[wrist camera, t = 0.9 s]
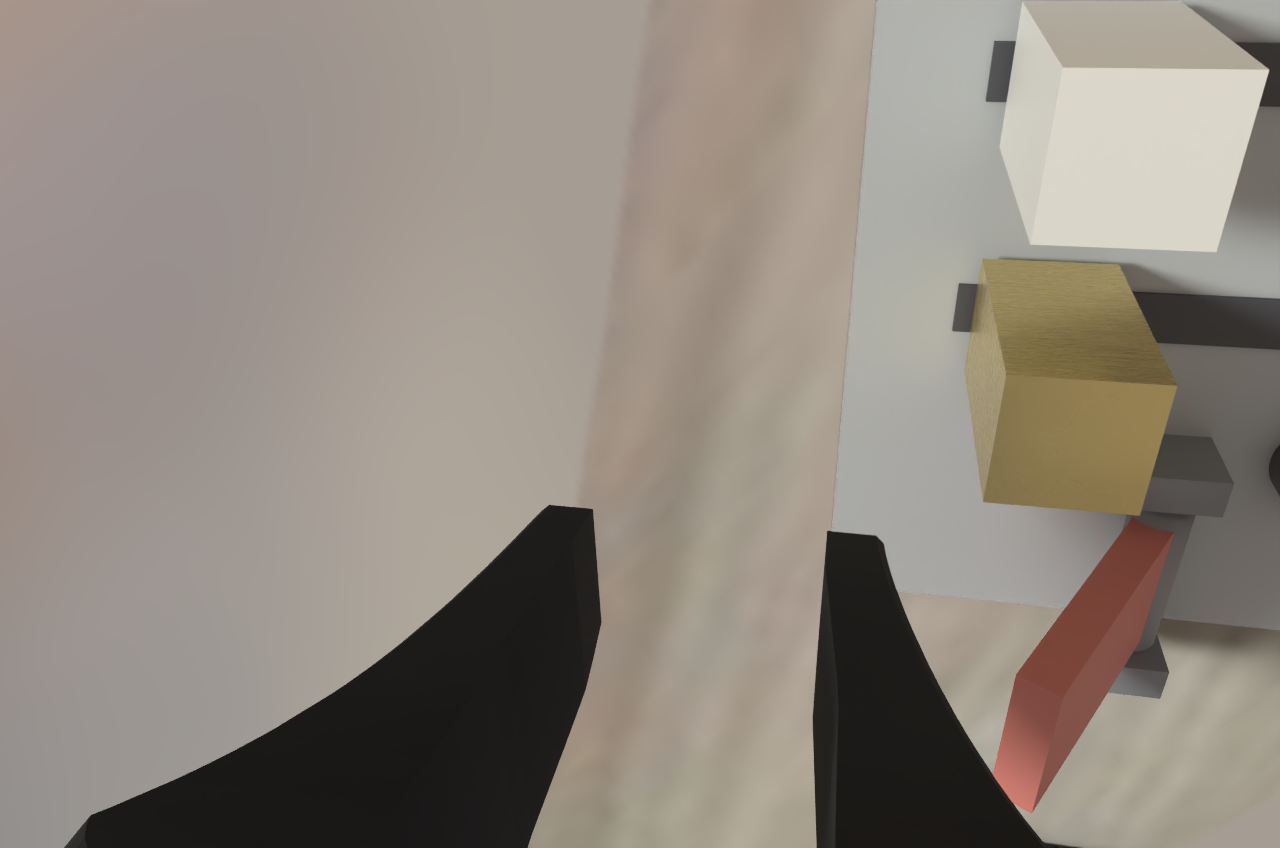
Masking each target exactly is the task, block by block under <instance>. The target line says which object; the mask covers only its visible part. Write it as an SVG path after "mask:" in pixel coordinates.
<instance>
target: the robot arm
mask: <svg viewBox="0 0 1280 848" xmlns="http://www.w3.org/2000/svg"><path fill="white" fill-rule="evenodd" d="M600 626H601V612H600V598H599V585H598V572H597V559H596V546H595V532H594V519H593V509H587V508H576V507H565V506H554V505H549V506H547V507H546V508H545V509H544V510H542V511H541V512H540V513H539V514H538V515H537V516H536V517H535V518H534V519H533V520H532V522H530V523H529V524H528V525H527V527H526V528H525V529H524V530H523V531H522V532H521V533H520V534H519V535H518V536H517V537H516V538H515V539H514V540H513V541H512V542H511V543H510V544H509V545H508V546H507V547H506V548H505V549H504V550H503V551H502V552H501V553H500V554H499V555H498V556H497V557H496V558H495V559H494V560H493V561H492V562H491V563H490V564H489V565H488V566H487V567H486V568H485V569H484V570H483V571H482V572H481V573H480V574H479V575H477V577H475V578H474V579H473V580H472V581H471V582H470V583H469V584H468V585H467V586H466V587H465V588H464V589H463V590H462V591H461V592H460V593H458V594H457V595H456V596H455V597H454V598H453V599H452V600H451V601H450V602H449V603H448V604H446V605H445V606H444V607H443V608H442V609H441V610H440V611H439V612H438V613H436V614H435V615H434V616H433V617H431V618H430V619H429V620H428V621H427V622H426V623H424V624H423V625H422V626H421V627H420V628H419V629H417V630H416V631H415V632H414V633H413V634H411V635H410V636H409V637H408V638H407V639H406V640H404V641H403V642H402V643H401V644H400V645H398V646H397V647H396V648H394V649H393V650H392V651H391V652H389V653H388V654H387V655H385V656H384V657H383V658H382V659H380V660H379V661H378V662H376V663H375V664H374V665H372V666H371V667H370V668H368V669H367V670H366V671H364V672H363V673H361V674H360V675H359V676H357V677H356V678H354V679H353V680H351V681H350V682H349V683H347V684H346V685H344V686H343V687H341V688H340V689H338V690H337V691H335V692H334V693H332V694H331V695H329V696H327V697H326V698H324V699H322V700H321V701H320V702H318V703H316V704H314V705H313V706H311V707H309V708H308V709H306V710H304V711H303V712H301V713H300V714H298V715H296V716H295V717H293V718H291V719H290V720H288V721H286V722H285V723H283V724H282V725H280V726H279V727H277V728H275V729H273V730H272V731H270V732H268V733H266V734H264V735H263V736H261V737H259V738H257V739H255V740H253V741H252V742H250V743H248V744H246V745H244V746H243V747H240V748H239V749H237V750H235V751H233V752H231V753H229V754H227V755H225V756H223V757H221V758H219V759H217V760H215V761H213V762H211V763H209V764H207V765H205V766H203V767H201V768H199V769H197V770H195V771H193V772H190V773H188V774H186V775H185V776H182V777H180V778H178V779H175V780H173V781H171V782H169V783H166V784H164V785H162V786H159V787H157V788H155V789H152V790H150V791H148V792H145V793H143V794H141V795H138V796H136V797H134V798H131V799H129V800H127V801H124V802H122V803H120V804H117V805H115V806H113V807H110V808H108V809H106V810H103V811H100V812H98V813H96V814H93V815H91V816H90V817H89V818H88V819H87V821H86V822H85V823H84V824H83V825H82V827H81V828H80V829H79V830H78V831H77V833H76V834H75V835H74V836H73V838H72V839H71V840H70V841H69V842H68V844H67V845H66V846H65V847H64V848H528V844H529V841H530V838H531V835H532V832H533V830H534V827H535V824H536V822H537V819H538V816H539V814H540V811H541V808H542V806H543V803H544V800H545V798H546V795H547V792H548V790H549V787H550V784H551V782H552V779H553V776H554V774H555V771H556V768H557V766H558V763H559V760H560V758H561V755H562V752H563V750H564V747H565V744H566V742H567V739H568V736H569V734H570V731H571V728H572V725H573V723H574V720H575V717H576V715H577V712H578V709H579V706H580V704H581V701H582V698H583V695H584V692H585V690H586V686H587V682H588V678H589V673H590V669H591V665H592V661H593V657H594V653H595V648H596V644H597V639H598V635H599V630H600ZM813 742H814V775H815V806H816V837H817V848H1047V846H1046V845H1045V844H1044V843H1043V841H1042V840H1041V839H1040V838H1039V836H1038V835H1037V834H1036V833H1035V831H1034V830H1033V829H1032V828H1031V826H1030V825H1029V824H1028V823H1027V822H1026V820H1025V819H1024V818H1023V816H1022V815H1021V814H1020V812H1019V811H1018V810H1017V808H1016V807H1015V805H1014V804H1013V803H1012V801H1011V800H1010V798H1009V797H1008V796H1007V794H1006V793H1005V791H1004V790H1003V789H1002V787H1001V786H1000V784H999V783H998V782H997V780H996V779H995V777H994V776H993V774H992V773H991V771H990V770H989V768H988V767H987V765H986V764H985V762H984V761H983V759H982V758H981V756H980V755H979V753H978V751H977V750H976V748H975V747H974V745H973V744H972V742H971V740H970V739H969V737H968V735H967V734H966V732H965V731H964V729H963V727H962V725H961V724H960V722H959V720H958V719H957V717H956V715H955V713H954V712H953V710H952V708H951V706H950V704H949V703H948V701H947V699H946V697H945V695H944V693H943V692H942V690H941V688H940V686H939V684H938V682H937V680H936V678H935V676H934V674H933V672H932V671H931V669H930V667H929V665H928V662H927V660H926V658H925V656H924V654H923V652H922V650H921V647H920V645H919V643H918V641H917V639H916V637H915V634H914V632H913V630H912V628H911V625H910V623H909V621H908V618H907V616H906V614H905V611H904V608H903V606H902V603H901V601H900V598H899V595H898V593H897V590H896V587H895V584H894V581H893V578H892V575H891V572H890V568H889V565H888V561H887V557H886V552H885V547H884V543H883V542H882V541H881V540H880V539H879V538H878V537H877V536H876V535H866V534H855V533H844V532H833V531H827V542H826V554H825V566H824V579H823V591H822V603H821V615H820V627H819V640H818V652H817V666H816V680H815V694H814V708H813Z"/></svg>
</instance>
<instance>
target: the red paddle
mask: <svg viewBox="0 0 1280 848" xmlns="http://www.w3.org/2000/svg"><path fill="white" fill-rule="evenodd" d="M1195 516H1196V515H1186V514H1175V513H1163V512H1151V511H1141V514H1140V516H1137V515H1126V519H1125V522H1124V526H1123V530H1122V532H1121V533H1120V535H1119V536H1118V537H1117V539H1116V540H1115V541H1114V543H1113V544H1112V546H1111V547H1110V548H1109V550H1108V551H1107V552H1106V554H1105V555H1104V556H1103V558H1102V559H1101V560H1100V562H1099V563H1098V565H1097V566H1096V567H1095V569H1094V570H1093V571H1092V573H1091V574H1090V575H1089V577H1088V578H1087V579H1086V581H1085V582H1084V584H1083V585H1082V586H1081V588H1080V589H1079V590H1078V592H1077V593H1076V594H1075V596H1074V597H1073V598H1072V600H1071V601H1070V602H1069V604H1068V605H1067V607H1066V608H1065V609H1064V611H1063V612H1062V613H1061V615H1060V616H1059V617H1058V619H1057V620H1056V621H1055V623H1054V624H1053V626H1052V627H1051V628H1050V630H1049V631H1048V632H1047V634H1046V635H1045V636H1044V638H1043V639H1042V640H1041V642H1040V643H1039V645H1038V646H1037V647H1036V649H1035V650H1034V651H1033V653H1032V654H1031V655H1030V657H1029V658H1028V659H1027V661H1026V662H1025V663H1024V665H1023V666H1022V668H1021V669H1020V670H1019V672H1018V673H1017V674H1016V678H1015V682H1014V687H1013V691H1012V695H1011V699H1010V704H1009V708H1008V712H1007V717H1006V721H1005V725H1004V730H1003V734H1002V738H1001V742H1000V747H999V751H998V755H997V760H996V764H995V768H994V773H993V776H994V777H995V779H996V780H997V782H998V783H999V784H1000V786H1001V787H1002V789H1003V790H1004V791H1005V793H1006V794H1007V796H1008V797H1009V798H1010V800H1011V801H1012V803H1014V804H1016V805H1017V806H1019V807H1021V808H1023V809H1025V810H1026V811H1028V812H1030V813H1032V812H1033V810H1034V809H1035V807H1036V806H1037V804H1038V803H1039V801H1040V799H1041V798H1042V796H1043V795H1044V793H1045V791H1046V790H1047V788H1048V787H1049V785H1050V783H1051V782H1052V780H1053V779H1054V777H1055V775H1056V774H1057V772H1058V771H1059V769H1060V768H1061V766H1062V764H1063V763H1064V761H1065V760H1066V758H1067V756H1068V755H1069V753H1070V752H1071V750H1072V748H1073V747H1074V745H1075V744H1076V742H1077V740H1078V739H1079V737H1080V736H1081V734H1082V733H1083V731H1084V729H1085V728H1086V726H1087V725H1088V723H1089V721H1090V720H1091V718H1092V717H1093V715H1094V713H1095V712H1096V710H1097V709H1098V707H1099V706H1100V704H1101V702H1102V701H1103V699H1104V698H1105V696H1106V694H1107V693H1108V691H1109V690H1110V688H1111V686H1112V685H1113V683H1114V682H1115V680H1116V678H1117V677H1118V675H1119V674H1120V672H1121V671H1122V669H1123V667H1124V666H1125V664H1126V663H1127V661H1128V659H1129V658H1130V656H1131V655H1132V653H1133V652H1139V651H1144V650H1147V649H1149V648H1150V647H1151V646H1152V645H1153V644H1154V641H1155V638H1156V635H1157V632H1158V629H1159V626H1160V623H1161V620H1162V617H1163V614H1164V611H1165V608H1166V605H1167V602H1168V599H1169V596H1170V593H1171V589H1172V586H1173V583H1174V580H1175V577H1176V574H1177V571H1178V568H1179V565H1180V562H1181V559H1182V556H1183V553H1184V550H1185V547H1186V544H1187V541H1188V538H1189V535H1190V532H1191V528H1192V525H1193V522H1194V519H1195Z"/></svg>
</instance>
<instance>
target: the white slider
mask: <svg viewBox="0 0 1280 848" xmlns="http://www.w3.org/2000/svg"><path fill="white" fill-rule="evenodd" d="M1268 73H1269V69H1268V68H1267V67H1265V66H1264V65H1263V64H1261V63H1260V62H1259V61H1258V60H1256V59H1255V58H1254V57H1252V56H1251V55H1250V54H1249V53H1247V52H1246V51H1245V50H1243V49H1242V48H1241V47H1239V46H1238V45H1237V44H1236V43H1234V42H1233V41H1232V40H1230V39H1229V38H1228V37H1227V36H1225V35H1224V34H1223V33H1221V32H1220V31H1219V30H1218V29H1216V28H1215V27H1214V26H1212V25H1211V24H1210V23H1209V22H1207V21H1206V20H1205V19H1203V18H1202V17H1201V16H1200V15H1198V14H1197V13H1196V12H1194V11H1193V10H1192V9H1190V8H1189V7H1188V6H1187V5H1185V4H1184V3H1183V2H1181V1H1022V7H1021V13H1020V20H1019V26H1018V32H1017V39H1016V45H1015V51H1014V58H1013V64H1012V70H1011V77H1010V83H1009V90H1008V96H1007V102H1006V109H1005V115H1004V121H1003V128H1002V134H1001V140H1000V147H999V148H1000V151H1001V154H1002V157H1003V160H1004V163H1005V166H1006V170H1007V173H1008V176H1009V179H1010V182H1011V185H1012V188H1013V192H1014V195H1015V198H1016V201H1017V204H1018V207H1019V210H1020V214H1021V217H1022V220H1023V223H1024V226H1025V229H1026V232H1027V236H1028V239H1029V242H1030V245H1053V246H1077V247H1101V248H1126V249H1150V250H1174V251H1199V252H1217V249H1218V245H1219V242H1220V238H1221V235H1222V231H1223V228H1224V224H1225V221H1226V218H1227V214H1228V211H1229V207H1230V204H1231V200H1232V197H1233V193H1234V190H1235V187H1236V183H1237V180H1238V176H1239V173H1240V169H1241V166H1242V163H1243V159H1244V156H1245V152H1246V149H1247V145H1248V142H1249V138H1250V135H1251V132H1252V128H1253V125H1254V121H1255V118H1256V114H1257V111H1258V107H1259V104H1260V101H1261V97H1262V94H1263V90H1264V87H1265V83H1266V80H1267V76H1268Z"/></svg>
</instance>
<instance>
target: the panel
mask: <svg viewBox="0 0 1280 848" xmlns="http://www.w3.org/2000/svg"><path fill="white" fill-rule="evenodd" d="M1022 1H1181V2H1183V3H1184V4H1185V5H1187V6H1188V7H1189V8H1190V9H1192V10H1193V11H1194V12H1196V13H1197V14H1198V15H1200V16H1201V17H1202V18H1203V19H1205V20H1206V21H1207V22H1209V23H1210V24H1211V25H1212V26H1214V27H1215V28H1216V29H1218V30H1219V31H1220V32H1221V33H1223V34H1224V35H1225V36H1227V37H1228V38H1229V39H1230V40H1232V41H1233V42H1234V43H1236V44H1237V45H1238V46H1239V47H1241V48H1242V49H1243V50H1245V51H1246V52H1247V53H1249V54H1250V55H1251V56H1252V57H1254V58H1255V59H1256V60H1258V61H1259V62H1260V63H1261V64H1263V65H1264V66H1265V67H1267V68H1268V69H1269V73H1268V76H1267V80H1266V83H1265V87H1264V90H1263V94H1262V97H1261V101H1260V104H1259V107H1258V111H1257V114H1256V118H1255V121H1254V125H1253V128H1252V132H1251V135H1250V138H1249V142H1248V145H1247V149H1246V152H1245V156H1244V159H1243V163H1242V166H1241V169H1240V173H1239V176H1238V180H1237V183H1236V187H1235V190H1234V193H1233V197H1232V200H1231V204H1230V207H1229V211H1228V214H1227V218H1226V221H1225V224H1224V228H1223V231H1222V235H1221V238H1220V242H1219V245H1218V249H1217V252H1199V251H1174V250H1150V249H1126V248H1101V247H1077V246H1053V245H1030V242H1029V239H1028V236H1027V232H1026V229H1025V226H1024V223H1023V220H1022V217H1021V214H1020V210H1019V207H1018V204H1017V201H1016V198H1015V195H1014V192H1013V188H1012V185H1011V182H1010V179H1009V176H1008V173H1007V170H1006V166H1005V163H1004V160H1003V157H1002V154H1001V151H1000V148H999V147H1000V140H1001V134H1002V128H1003V121H1004V115H1005V109H1006V102H1007V96H1008V90H1009V83H1010V77H1011V70H1012V64H1013V58H1014V51H1015V45H1016V39H1017V32H1018V26H1019V20H1020V13H1021V7H1022ZM982 259H1005V260H1028V261H1050V262H1073V263H1096V264H1119V266H1120V268H1121V270H1122V272H1123V274H1124V276H1125V278H1126V280H1127V282H1128V284H1129V286H1130V288H1131V290H1132V293H1133V295H1134V297H1135V299H1136V301H1137V303H1138V305H1139V307H1140V309H1141V311H1142V313H1143V315H1144V317H1145V319H1146V322H1147V324H1148V326H1149V328H1150V330H1151V332H1152V334H1153V336H1154V338H1155V340H1156V342H1157V344H1158V346H1159V348H1160V350H1161V353H1162V355H1163V357H1164V359H1165V361H1166V363H1167V365H1168V367H1169V369H1170V371H1171V373H1172V375H1173V377H1174V379H1175V382H1176V384H1177V390H1176V393H1175V397H1174V400H1173V403H1172V407H1171V410H1170V414H1169V417H1168V421H1167V424H1166V428H1165V431H1164V434H1163V438H1162V441H1161V445H1160V448H1159V452H1158V455H1157V458H1156V462H1155V465H1154V469H1153V472H1152V476H1151V479H1150V483H1149V486H1148V489H1147V493H1146V496H1145V500H1144V503H1143V507H1142V510H1141V511H1151V512H1163V513H1175V514H1186V515H1196V516H1195V519H1194V522H1193V525H1192V528H1191V532H1190V535H1189V538H1188V541H1187V544H1186V547H1185V550H1184V553H1183V556H1182V559H1181V562H1180V565H1179V568H1178V571H1177V574H1176V577H1175V580H1174V583H1173V586H1172V589H1171V593H1170V596H1169V599H1168V602H1167V605H1166V608H1165V611H1164V614H1163V617H1162V619H1172V620H1182V621H1192V622H1201V623H1211V624H1221V625H1231V626H1240V627H1250V628H1260V629H1270V630H1279V631H1280V0H877V1H876V12H875V24H874V36H873V48H872V60H871V71H870V83H869V95H868V107H867V119H866V130H865V142H864V154H863V166H862V177H861V189H860V201H859V213H858V225H857V236H856V248H855V260H854V272H853V283H852V295H851V307H850V319H849V331H848V342H847V354H846V366H845V378H844V390H843V401H842V413H841V425H840V437H839V448H838V460H837V472H836V484H835V496H834V507H833V519H832V531H833V532H844V533H855V534H866V535H876V536H877V537H878V538H879V539H880V540H881V541H882V542H883V543H884V547H885V552H886V557H887V561H888V565H889V568H890V572H891V575H892V578H893V581H894V584H895V587H896V590H897V591H899V592H909V593H919V594H928V595H938V596H948V597H958V598H967V599H977V600H987V601H997V602H1006V603H1016V604H1026V605H1036V606H1045V607H1055V608H1066V607H1067V605H1068V604H1069V602H1070V601H1071V600H1072V598H1073V597H1074V596H1075V594H1076V593H1077V592H1078V590H1079V589H1080V588H1081V586H1082V585H1083V584H1084V582H1085V581H1086V579H1087V578H1088V577H1089V575H1090V574H1091V573H1092V571H1093V570H1094V569H1095V567H1096V566H1097V565H1098V563H1099V562H1100V560H1101V559H1102V558H1103V556H1104V555H1105V554H1106V552H1107V551H1108V550H1109V548H1110V547H1111V546H1112V544H1113V543H1114V541H1115V540H1116V539H1117V537H1118V536H1119V535H1120V533H1121V532H1122V530H1123V526H1124V522H1125V519H1126V514H1114V513H1103V512H1091V511H1079V510H1068V509H1056V508H1044V507H1033V506H1021V505H1009V504H998V503H986V502H983V499H982V492H981V485H980V478H979V471H978V464H977V457H976V450H975V443H974V435H973V428H972V421H971V414H970V407H969V400H968V393H967V386H966V379H965V372H964V369H965V362H966V356H967V350H968V343H969V337H970V331H971V324H972V318H973V312H974V305H975V299H976V293H977V286H978V280H979V274H980V267H981V261H982ZM1168 674H1169V671H1168V668H1167V664H1166V661H1165V658H1164V655H1163V652H1162V649H1161V646H1160V643H1159V640H1158V636H1157V635H1156V638H1155V641H1154V644H1153V645H1152V646H1151V647H1150V648H1149V649H1147V650H1144V651H1139V652H1133V653H1132V655H1131V656H1130V658H1129V659H1128V661H1127V663H1126V664H1125V666H1124V667H1123V669H1122V671H1121V672H1120V674H1119V675H1118V677H1117V678H1116V680H1115V682H1114V683H1113V685H1112V686H1111V688H1110V690H1109V691H1108V693H1117V694H1126V695H1134V696H1143V697H1152V698H1160V697H1161V694H1162V692H1163V689H1164V686H1165V683H1166V680H1167V677H1168Z"/></svg>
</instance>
